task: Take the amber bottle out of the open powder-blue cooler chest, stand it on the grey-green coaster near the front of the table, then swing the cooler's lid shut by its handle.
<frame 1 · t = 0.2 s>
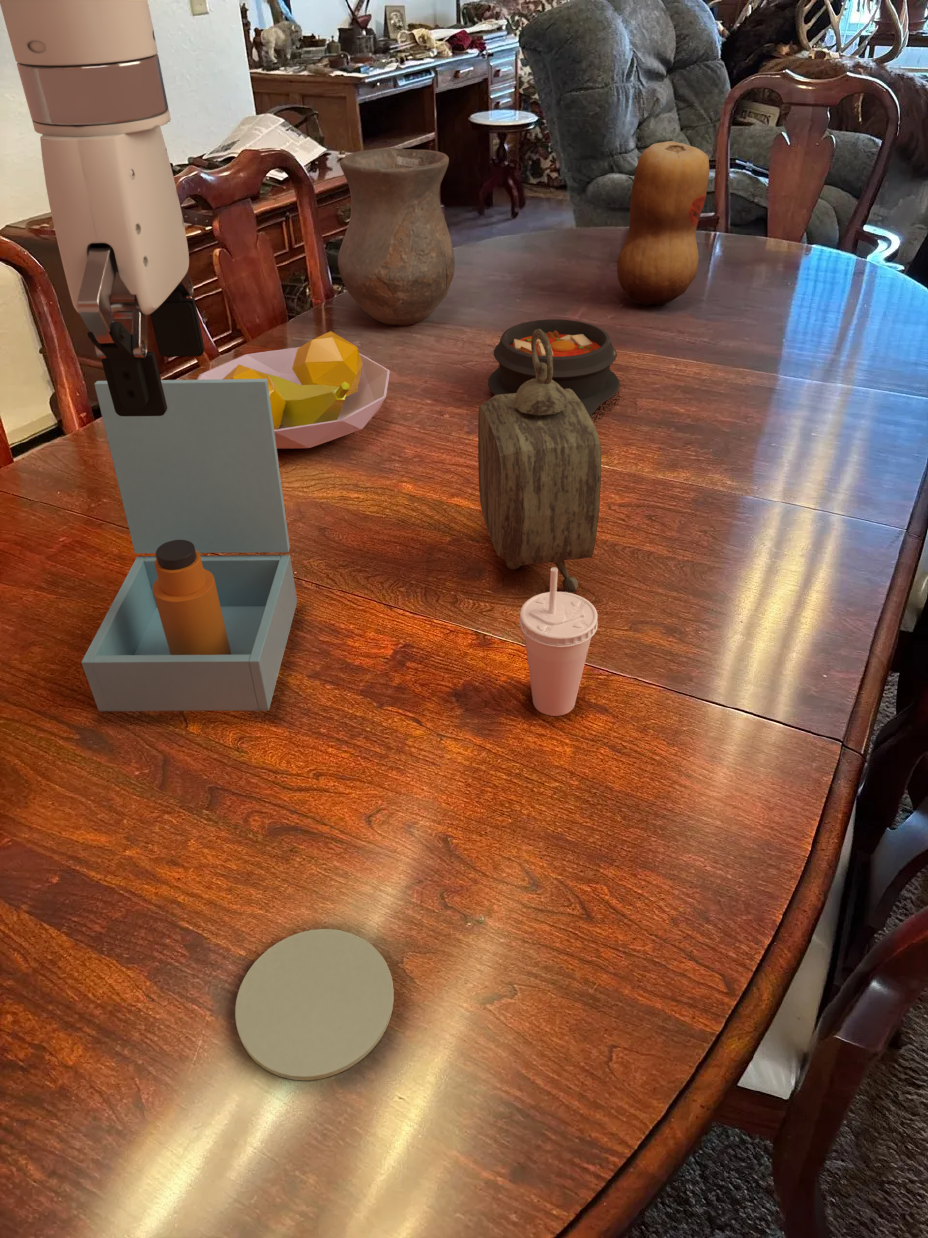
hand: (163, 382, 62), 30 cm above the table, tool pointing down, fingers open, 9 cm apart
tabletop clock: (531, 567, 97), on the table
casserole: (552, 396, 131), on the table
vase: (400, 319, 157), on the table
cooler lid: (202, 462, 85), point 15 cm above the table, hinge at 95.0°
butternut squash: (653, 303, 161), on the table
fruit bowl: (297, 430, 124), on the table
cooler: (206, 659, 86), on the table
smoothie: (553, 703, 81), on the table
bottle: (202, 658, 85), point 1 cm above the table, touching cooler
coaster: (315, 1001, 59), on the table
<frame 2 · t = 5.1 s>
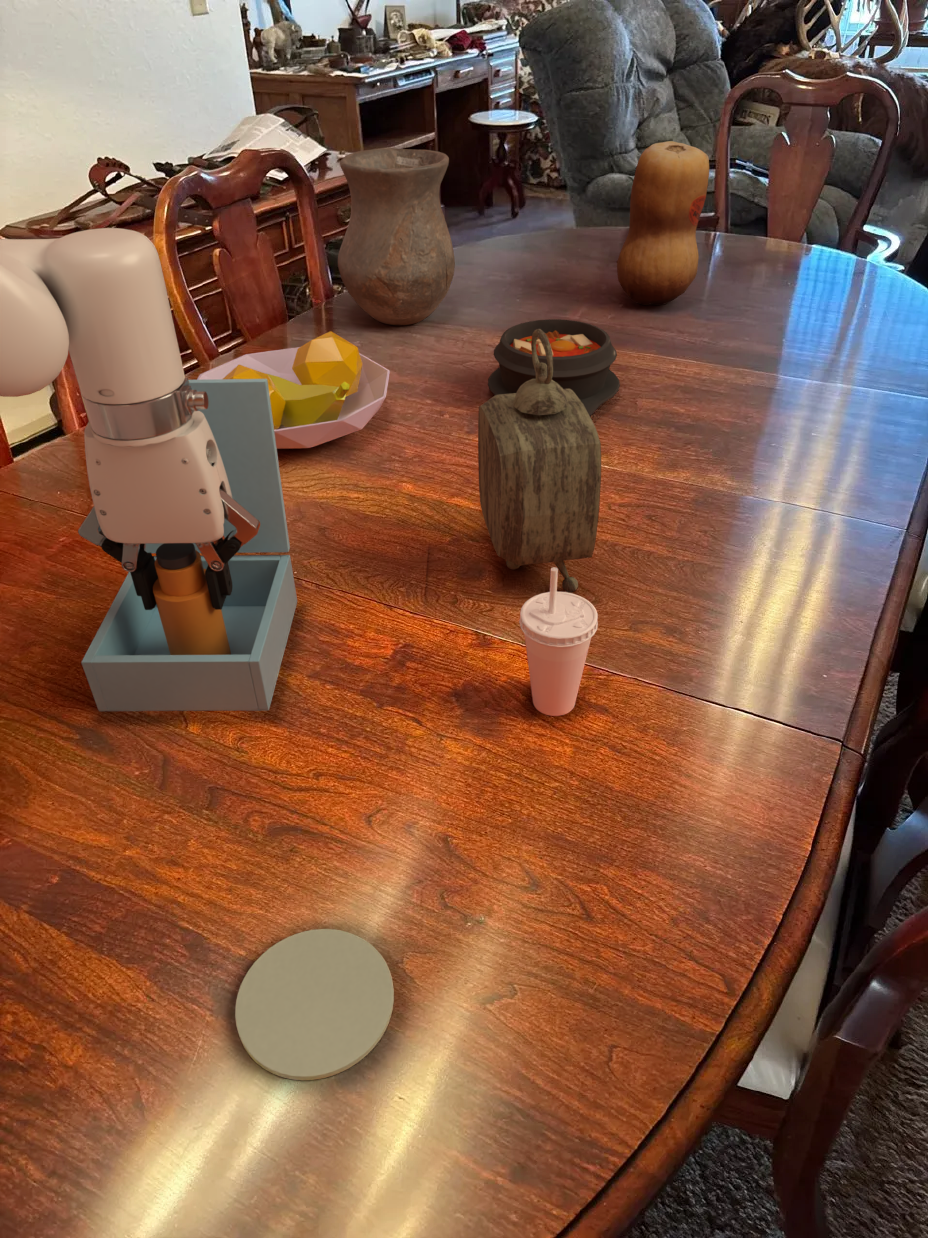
hand: (187, 598, 80), 8 cm above the table, tool pointing down, fingers closed on bottle, 5 cm apart
bottle: (202, 658, 85), point 1 cm above the table, touching cooler, gripper
everything else where it was.
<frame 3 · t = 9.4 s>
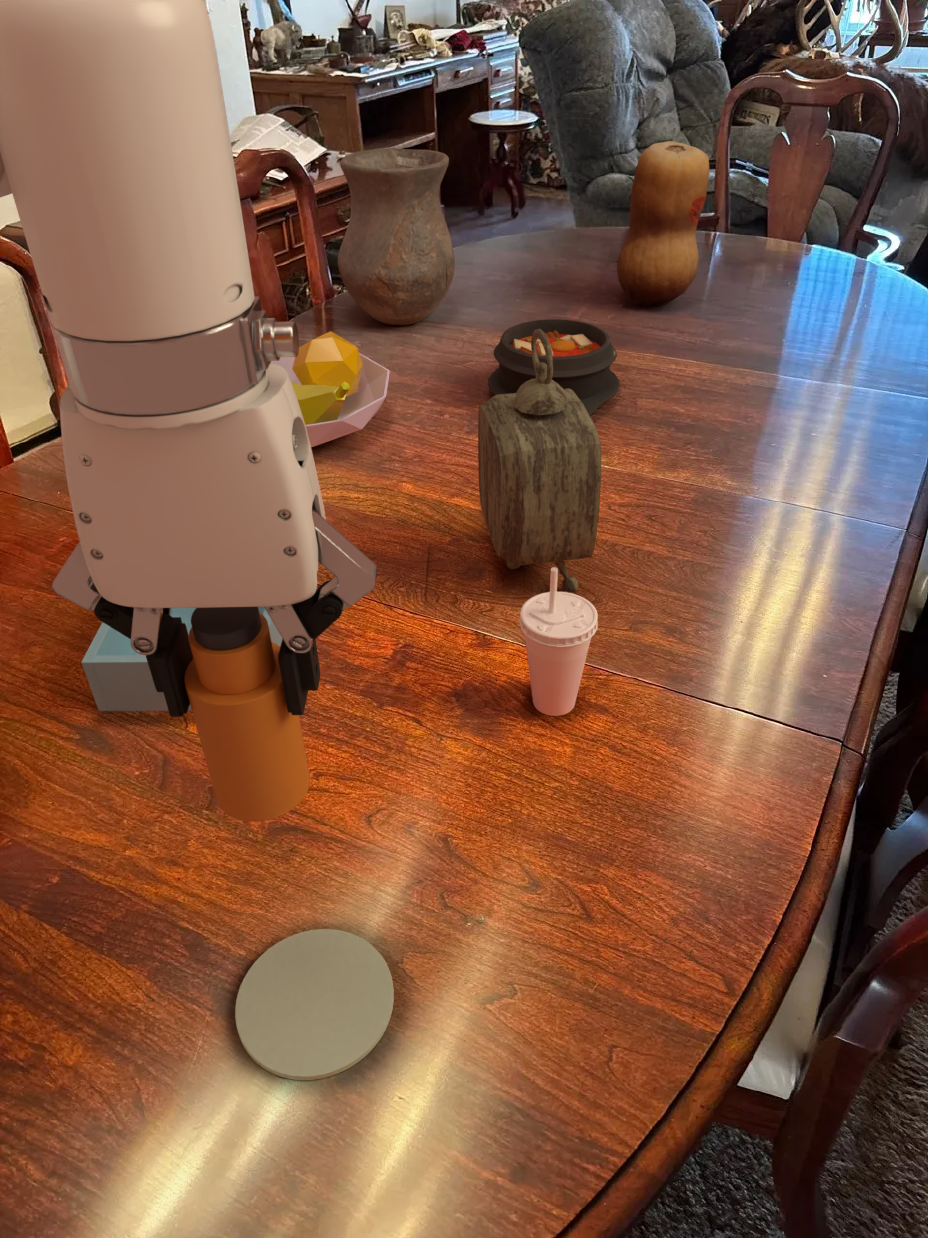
hand: (242, 694, 47), 24 cm above the table, tool pointing down, fingers closed on bottle, 5 cm apart
bottle: (263, 785, 51), point 17 cm above the table, touching gripper
everything else where it was.
when the fingers open (7 cm above the table, at t = 13.7 s): bottle stays where it is, resting on coaster.
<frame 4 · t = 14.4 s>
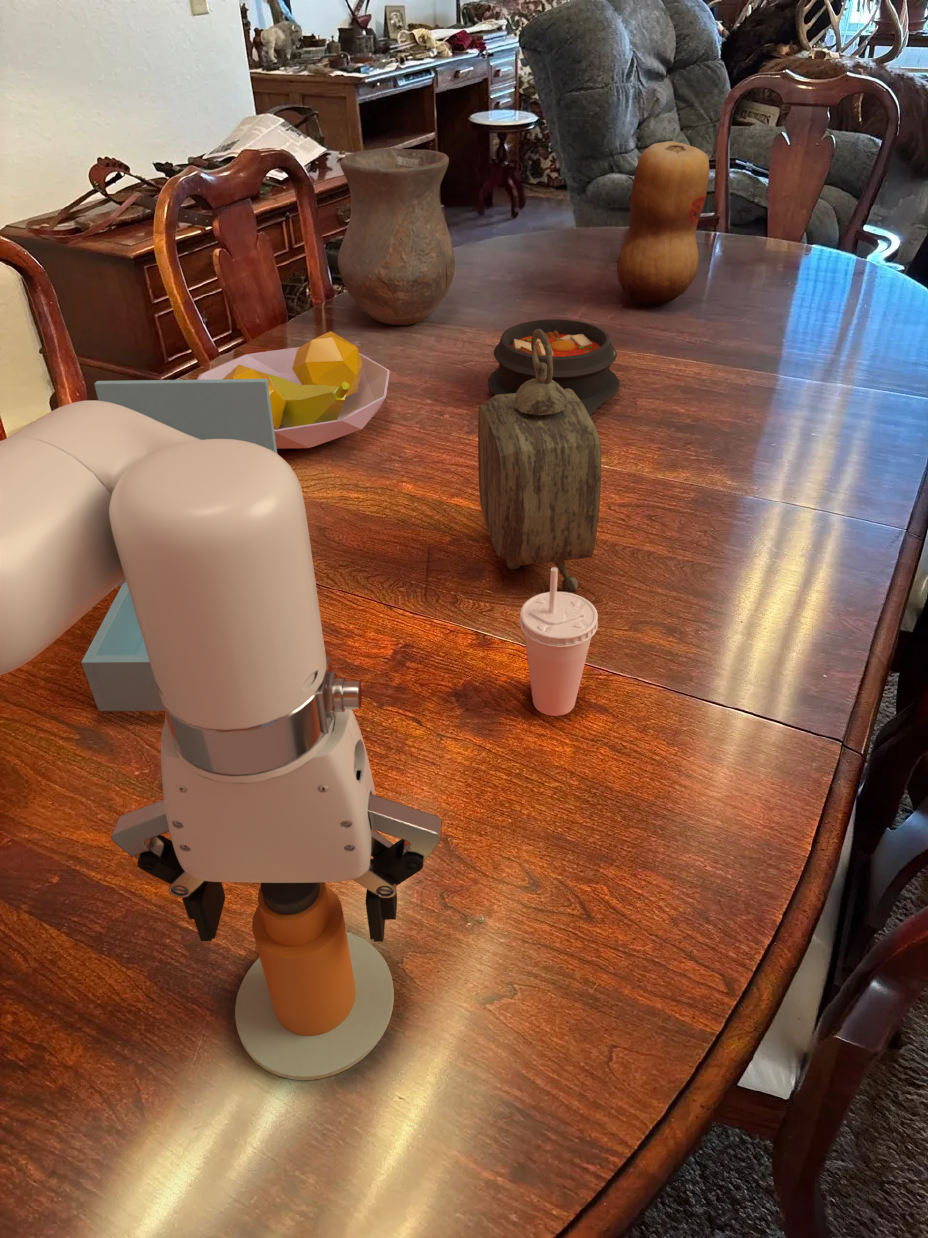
hand: (296, 919, 53), 9 cm above the table, tool pointing down, fingers open, 9 cm apart
bottle: (314, 997, 58), resting on coaster
everything else where it was.
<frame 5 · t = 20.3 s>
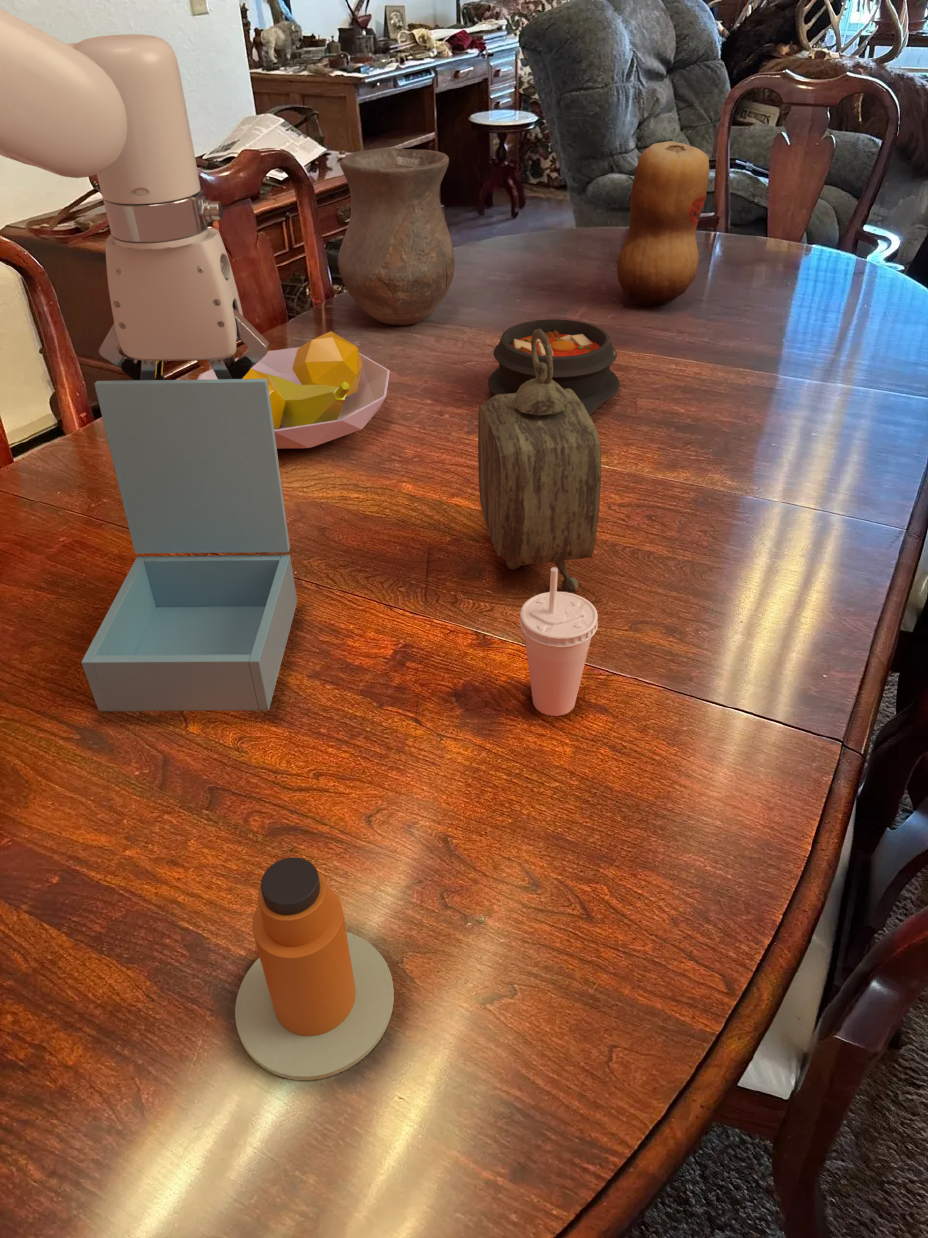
hand: (200, 424, 85), 18 cm above the table, tool pointing down, fingers closed on cooler lid, 5 cm apart
cooler lid: (202, 462, 85), point 15 cm above the table, hinge at 95.0°, touching gripper
everything else where it was.
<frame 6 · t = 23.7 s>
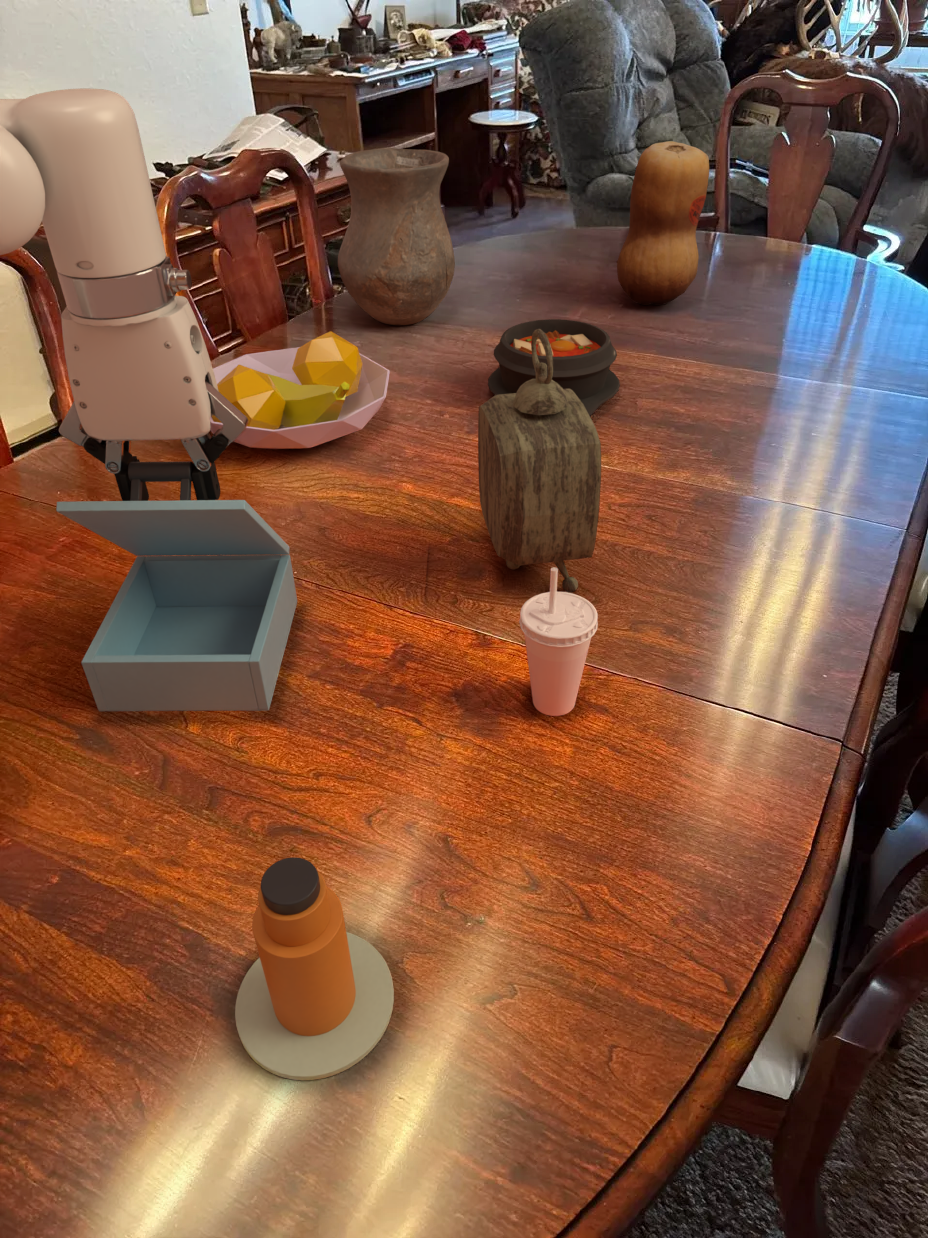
hand: (174, 504, 77), 16 cm above the table, tool pointing down, fingers closed on cooler lid, 5 cm apart
cooler lid: (185, 509, 80), point 14 cm above the table, hinge at 45.8°, touching gripper
everything else where it was.
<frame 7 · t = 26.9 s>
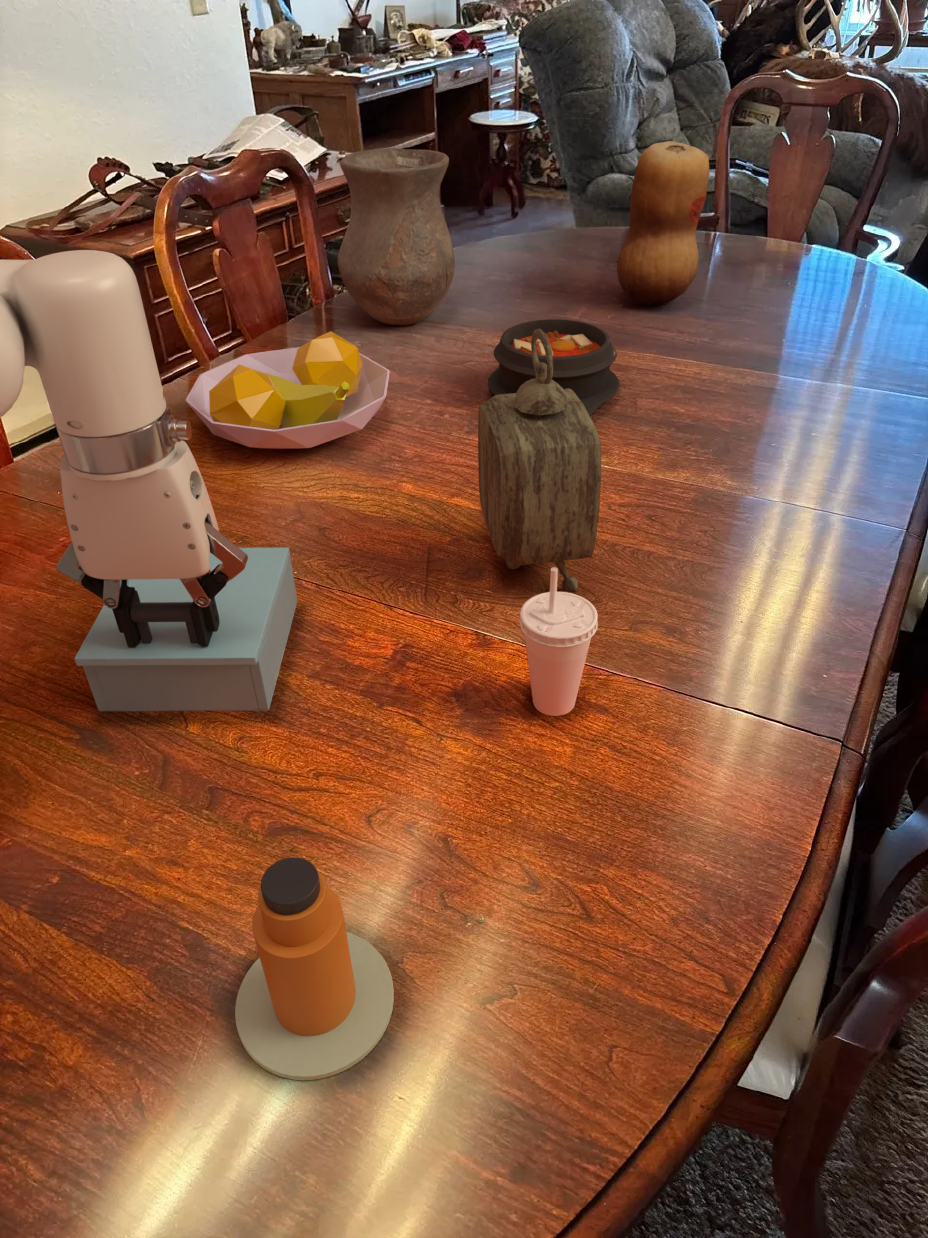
hand: (172, 634, 77), 8 cm above the table, tool pointing down, fingers open, 5 cm apart
cooler lid: (186, 584, 80), point 9 cm above the table, hinge at 0.7°
everything else where it was.
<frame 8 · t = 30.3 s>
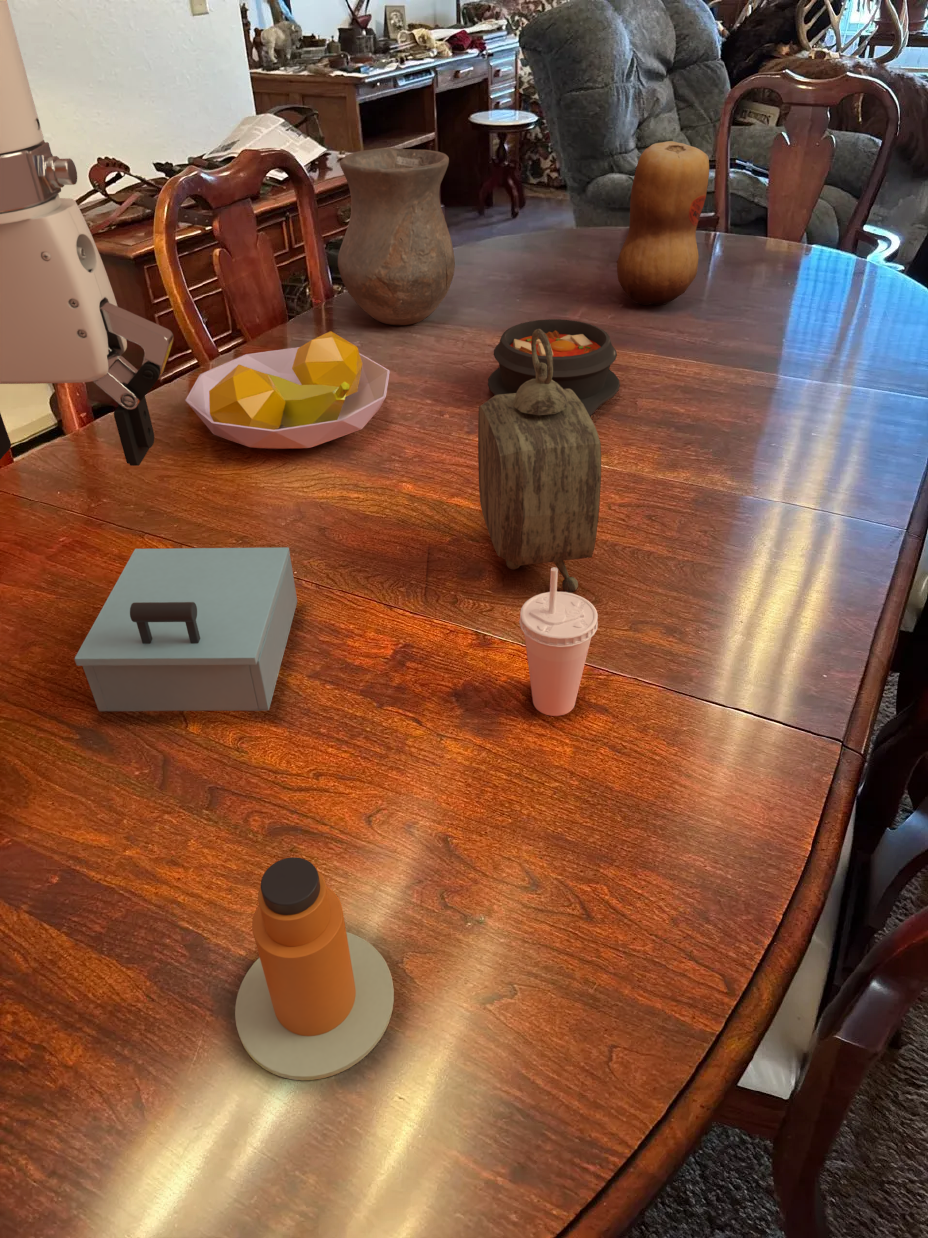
hand: (68, 456, 62), 26 cm above the table, tool pointing down, fingers open, 9 cm apart
nothing on the table moved.
at the end: bottle inside the target area (0.0 cm from its centre), point 0.5 cm above the table; bottle tilted 0°; cooler lid at +1° (first picture: +95°) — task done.
